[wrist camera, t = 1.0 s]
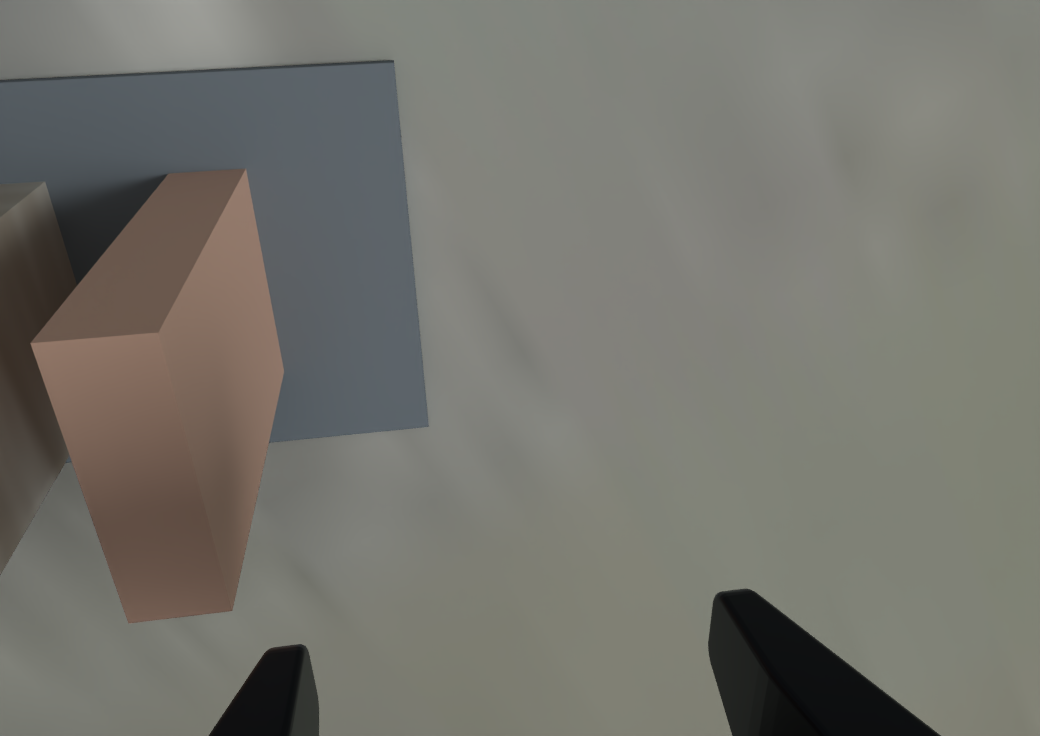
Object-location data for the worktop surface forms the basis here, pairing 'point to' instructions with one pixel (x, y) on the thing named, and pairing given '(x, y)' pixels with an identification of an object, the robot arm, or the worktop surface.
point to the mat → (256, 209)
